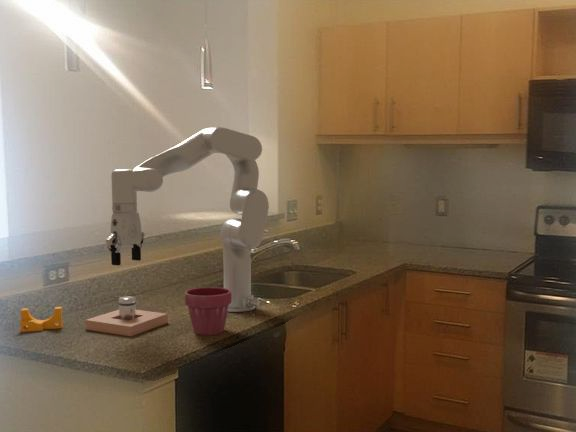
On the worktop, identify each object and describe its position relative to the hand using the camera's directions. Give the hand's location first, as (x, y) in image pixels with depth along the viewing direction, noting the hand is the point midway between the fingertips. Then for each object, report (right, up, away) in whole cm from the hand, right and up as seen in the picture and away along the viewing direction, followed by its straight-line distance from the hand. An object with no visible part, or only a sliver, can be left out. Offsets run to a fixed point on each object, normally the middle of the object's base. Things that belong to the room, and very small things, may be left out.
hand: (126, 262), depth 222 cm
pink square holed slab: (0, -20, +1) cm, 20 cm away
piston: (0, -20, +2) cm, 20 cm away
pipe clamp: (-26, -21, -1) cm, 34 cm away
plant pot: (+27, -21, -6) cm, 34 cm away
